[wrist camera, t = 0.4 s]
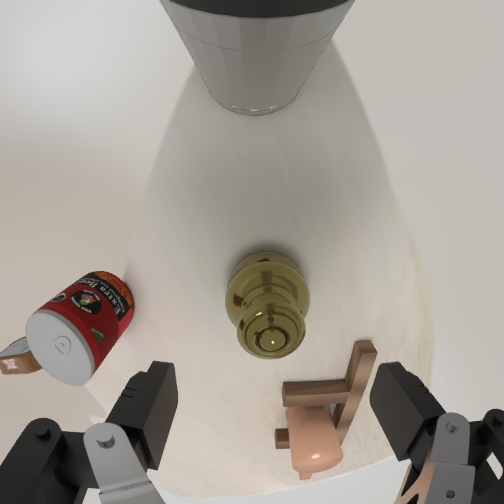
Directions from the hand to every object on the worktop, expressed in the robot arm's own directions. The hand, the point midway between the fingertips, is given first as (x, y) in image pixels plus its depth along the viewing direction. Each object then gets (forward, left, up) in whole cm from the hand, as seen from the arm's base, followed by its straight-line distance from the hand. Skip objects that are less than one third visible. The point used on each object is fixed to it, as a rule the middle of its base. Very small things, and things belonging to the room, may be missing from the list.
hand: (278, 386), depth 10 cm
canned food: (+6, -17, -18) cm, 26 cm away
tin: (+14, -31, -18) cm, 39 cm away
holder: (+22, +8, -18) cm, 30 cm away
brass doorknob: (+3, +1, -18) cm, 19 cm away
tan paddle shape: (+25, +7, -18) cm, 32 cm away
